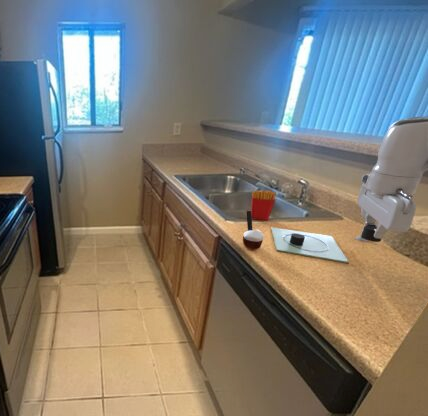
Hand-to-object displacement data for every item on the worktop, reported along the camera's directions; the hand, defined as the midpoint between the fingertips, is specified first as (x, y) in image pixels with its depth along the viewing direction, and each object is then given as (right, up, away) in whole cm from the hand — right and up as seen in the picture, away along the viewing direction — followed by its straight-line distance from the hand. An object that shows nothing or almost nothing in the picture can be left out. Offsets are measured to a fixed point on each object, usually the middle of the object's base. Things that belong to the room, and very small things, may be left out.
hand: (372, 233), depth 74 cm
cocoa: (-20, -7, +25) cm, 32 cm away
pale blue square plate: (+1, -6, +26) cm, 27 cm away
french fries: (-3, +2, +48) cm, 49 cm away
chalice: (+20, -6, +25) cm, 33 cm away
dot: (0, -2, +1) cm, 2 cm away
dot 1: (-3, -6, +25) cm, 26 cm away
